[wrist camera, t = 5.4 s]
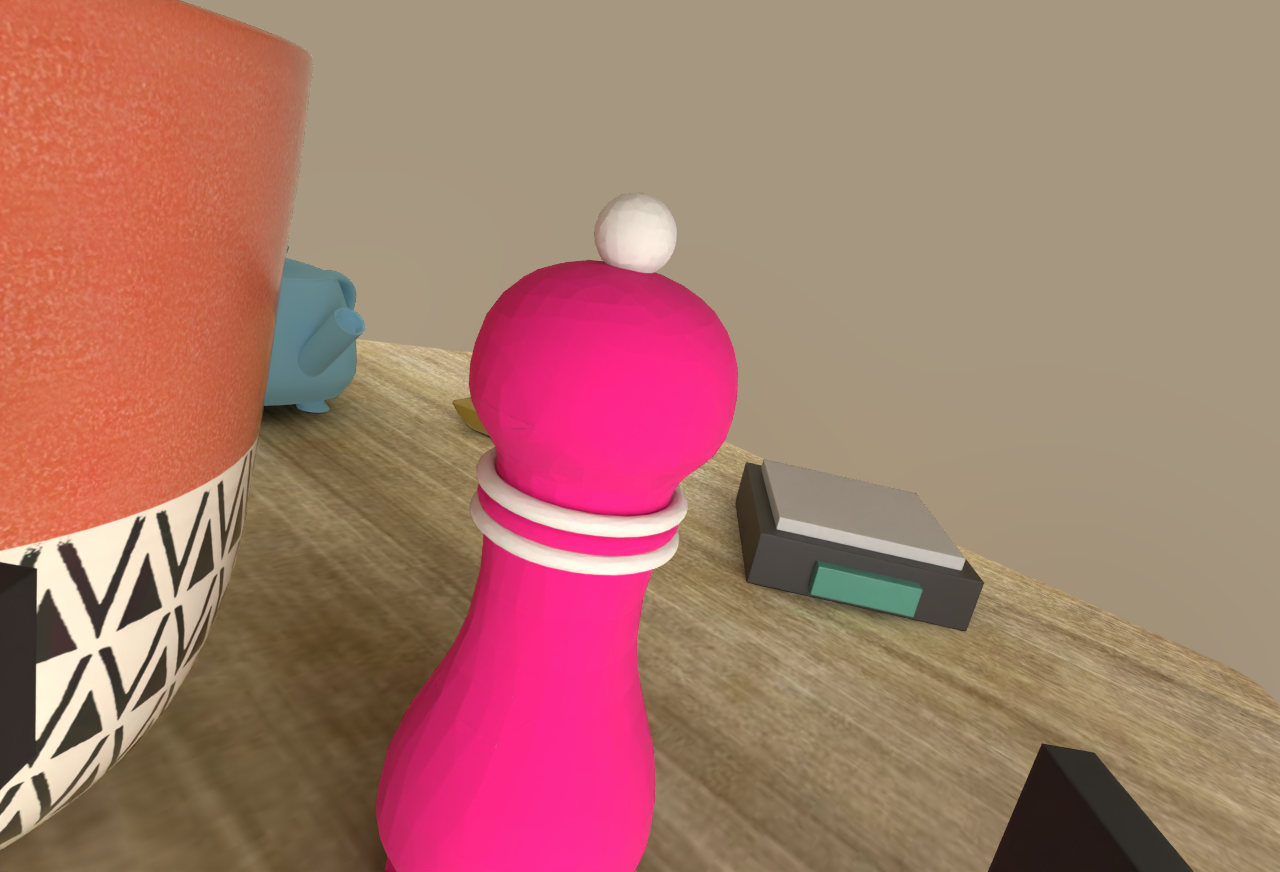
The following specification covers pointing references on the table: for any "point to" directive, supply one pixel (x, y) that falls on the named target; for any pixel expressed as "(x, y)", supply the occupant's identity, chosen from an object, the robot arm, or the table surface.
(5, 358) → the planter
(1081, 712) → the table surface
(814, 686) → the table surface
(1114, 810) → the robot arm
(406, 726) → the pepper mill
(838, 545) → the scale
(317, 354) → the teapot
